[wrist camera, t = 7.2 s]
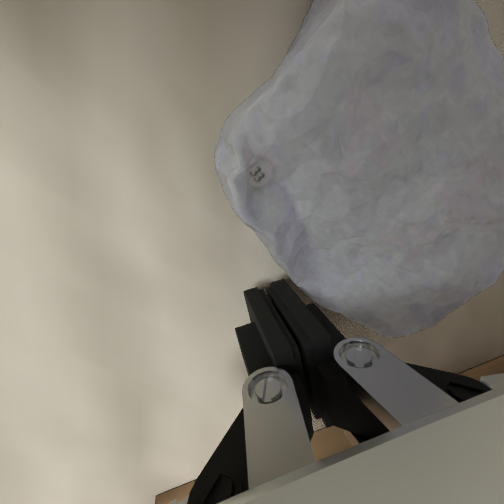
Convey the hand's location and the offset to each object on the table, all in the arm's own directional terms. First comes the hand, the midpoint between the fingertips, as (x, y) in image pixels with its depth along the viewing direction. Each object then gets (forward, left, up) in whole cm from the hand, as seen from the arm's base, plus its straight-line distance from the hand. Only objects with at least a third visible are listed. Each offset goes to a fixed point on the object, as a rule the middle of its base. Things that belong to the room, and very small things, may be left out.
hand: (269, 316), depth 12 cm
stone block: (-4, +5, -2) cm, 7 cm away
